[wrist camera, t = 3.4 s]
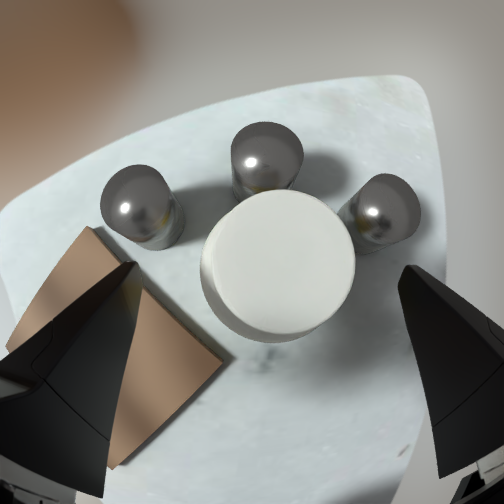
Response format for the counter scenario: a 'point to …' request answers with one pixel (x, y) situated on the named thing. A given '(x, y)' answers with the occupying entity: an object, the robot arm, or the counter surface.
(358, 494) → the counter surface
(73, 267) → the walnut board
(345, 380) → the counter surface
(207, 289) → the supplement bottle
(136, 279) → the robot arm
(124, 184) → the standoff posts
